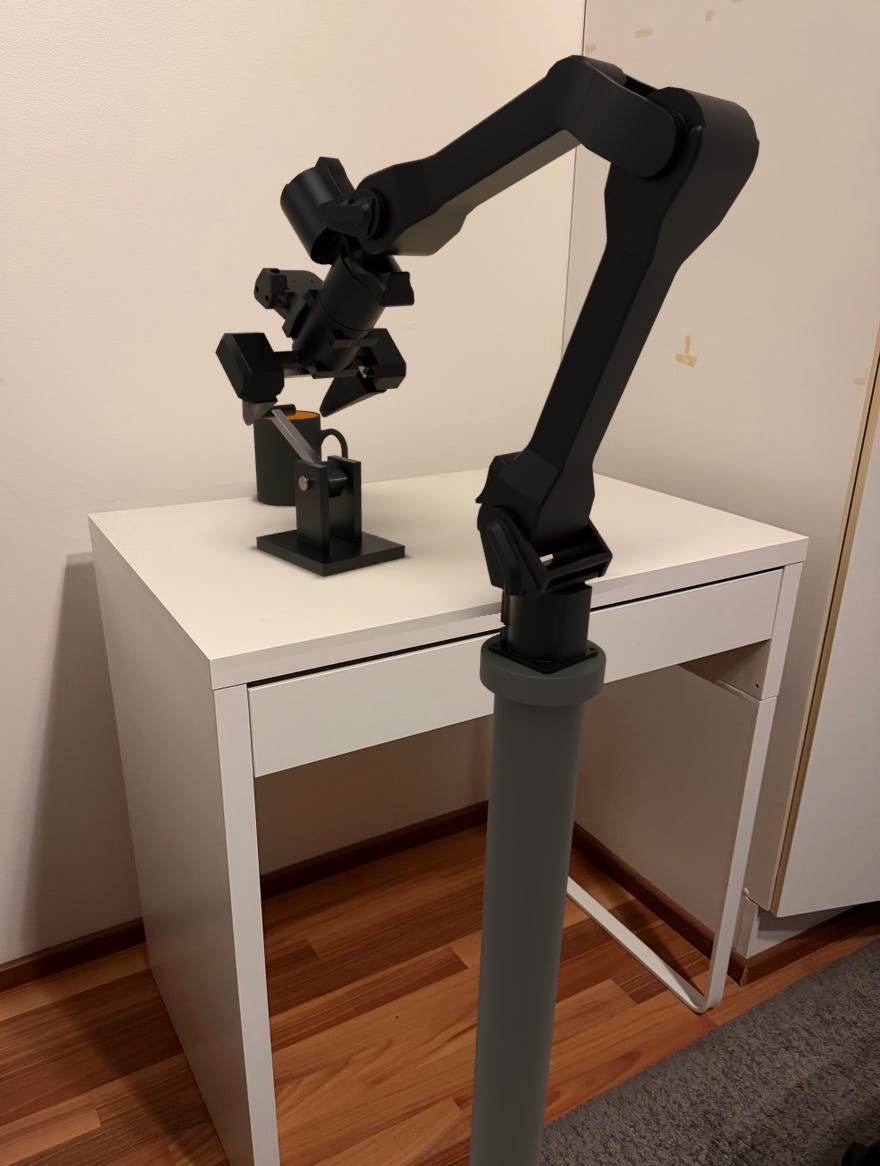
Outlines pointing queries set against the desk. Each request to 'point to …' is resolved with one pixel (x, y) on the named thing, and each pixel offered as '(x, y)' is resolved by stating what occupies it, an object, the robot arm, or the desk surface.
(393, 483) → the desk surface
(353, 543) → the black stand
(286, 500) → the mug
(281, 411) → the tap lever
